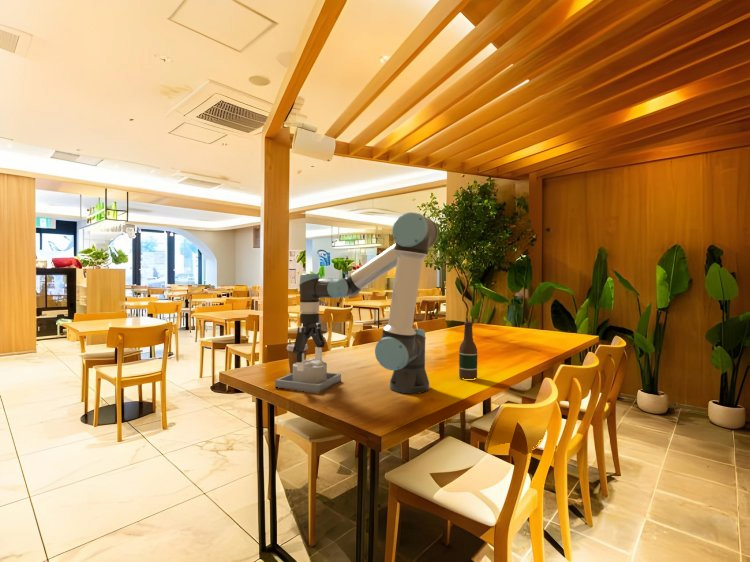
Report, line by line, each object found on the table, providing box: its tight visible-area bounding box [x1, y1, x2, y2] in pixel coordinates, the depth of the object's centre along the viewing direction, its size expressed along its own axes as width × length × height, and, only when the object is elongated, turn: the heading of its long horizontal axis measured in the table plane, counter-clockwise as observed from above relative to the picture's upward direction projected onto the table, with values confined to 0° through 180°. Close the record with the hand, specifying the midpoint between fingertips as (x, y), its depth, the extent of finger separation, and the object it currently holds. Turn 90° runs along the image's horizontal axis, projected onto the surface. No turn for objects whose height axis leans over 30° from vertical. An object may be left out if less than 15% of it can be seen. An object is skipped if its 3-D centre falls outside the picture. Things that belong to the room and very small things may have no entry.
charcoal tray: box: [274, 372, 342, 394], centre depth 151 cm, size 19×18×3 cm
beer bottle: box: [458, 321, 478, 379], centre depth 161 cm, size 8×8×24 cm
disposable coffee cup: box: [286, 342, 309, 373], centre depth 172 cm, size 10×10×12 cm
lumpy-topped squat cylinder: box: [293, 358, 328, 384], centre depth 150 cm, size 10×13×9 cm
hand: (310, 366), depth 150 cm, fingers open, 13 cm apart
